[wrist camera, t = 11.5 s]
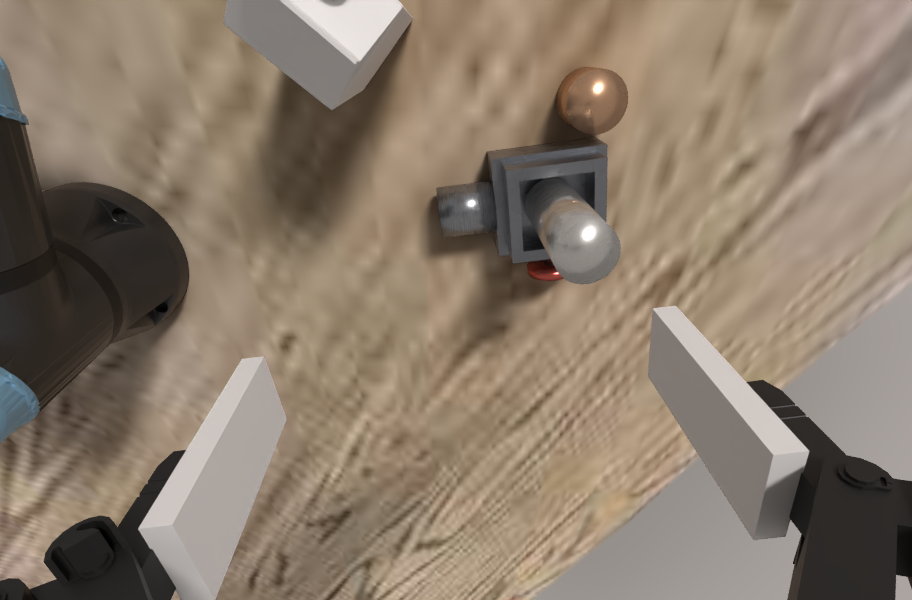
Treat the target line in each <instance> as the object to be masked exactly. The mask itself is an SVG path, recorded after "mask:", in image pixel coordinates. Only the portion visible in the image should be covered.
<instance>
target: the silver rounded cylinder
mask: <svg viewBox="0 0 912 600" xmlns="http://www.w3.org/2000/svg"><path fill="white" fill-rule="evenodd" d="M525 210H526V214H527V216H528V218H529V220H530V222H531V223H532V225H533V227H534V229H535V231H536V233H537V235H538V236H539V238H540V240H541V242H542V244H543V246H544V248H545V249H546V251H547V253H548V255H549V257H550V259H551V260H552V262H553V264H554V266H555V268H556V270H557V271H558V273H559V274H560V275H561V276H562V277H563V278H564V279H566V280H567V281H569V282H572V283H576V284H589V283H593V282H596V281H599V280H601V279H602V278H604V277H605V276H607V275H608V274H609V273H610V272H611V271H612V270H613V269H614V267H615V266H616V264H617V262H618V259H619V256H620V250H621V247H620V241H619V238H618V236H617V234H616V233H615V231H614V230H613V229H612V228H611V227H610V226H609V225H608V224H607V223H606V222H605V221H604V220H603V219H602V218H601V217H600V216H599V215H598V214H597V213H596V212H595V211H594V210H593V208H592V207H591V206H590V205H589V204H588V203H587V202H586V201H585V200H584V199H583V198H582V197H581V196H580V195H579V194H578V193H577V192H576V191H575V190H574V189H573V188H572V187H571V186H570V185H569V184H568V183H567V182H566V181H564V180H561V179H557V178H549V179H545V180H542V181H540V182H538V183H537V184H536V185H534V186H533V187H532V189H531V190H530V191H529V193H528V195H527V197H526V201H525Z"/></svg>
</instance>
